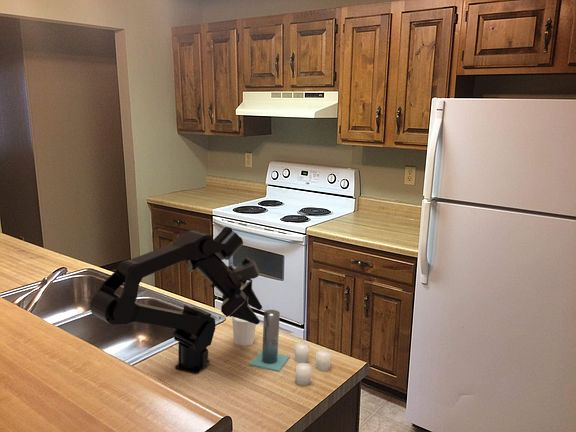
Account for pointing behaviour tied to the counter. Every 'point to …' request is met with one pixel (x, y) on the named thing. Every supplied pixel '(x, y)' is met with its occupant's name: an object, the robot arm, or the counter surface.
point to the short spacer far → (323, 360)
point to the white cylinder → (243, 331)
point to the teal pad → (275, 366)
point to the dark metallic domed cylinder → (270, 336)
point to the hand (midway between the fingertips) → (259, 315)
